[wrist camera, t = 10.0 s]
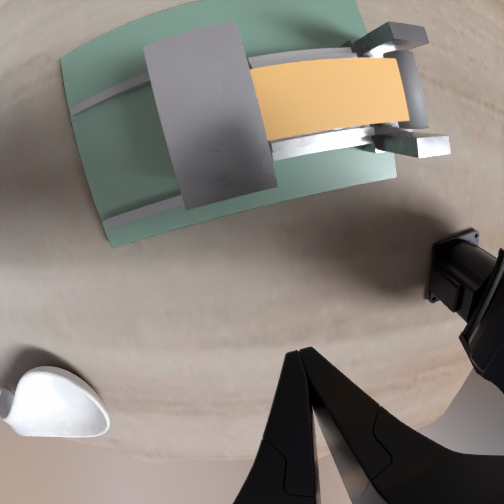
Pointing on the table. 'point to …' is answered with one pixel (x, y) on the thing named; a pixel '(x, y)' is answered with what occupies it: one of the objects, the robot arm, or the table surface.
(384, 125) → the mount
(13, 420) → the spoon rest
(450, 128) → the table surface
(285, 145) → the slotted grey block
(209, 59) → the plate
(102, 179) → the board
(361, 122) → the orange flat plank
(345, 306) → the table surface
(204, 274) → the table surface
